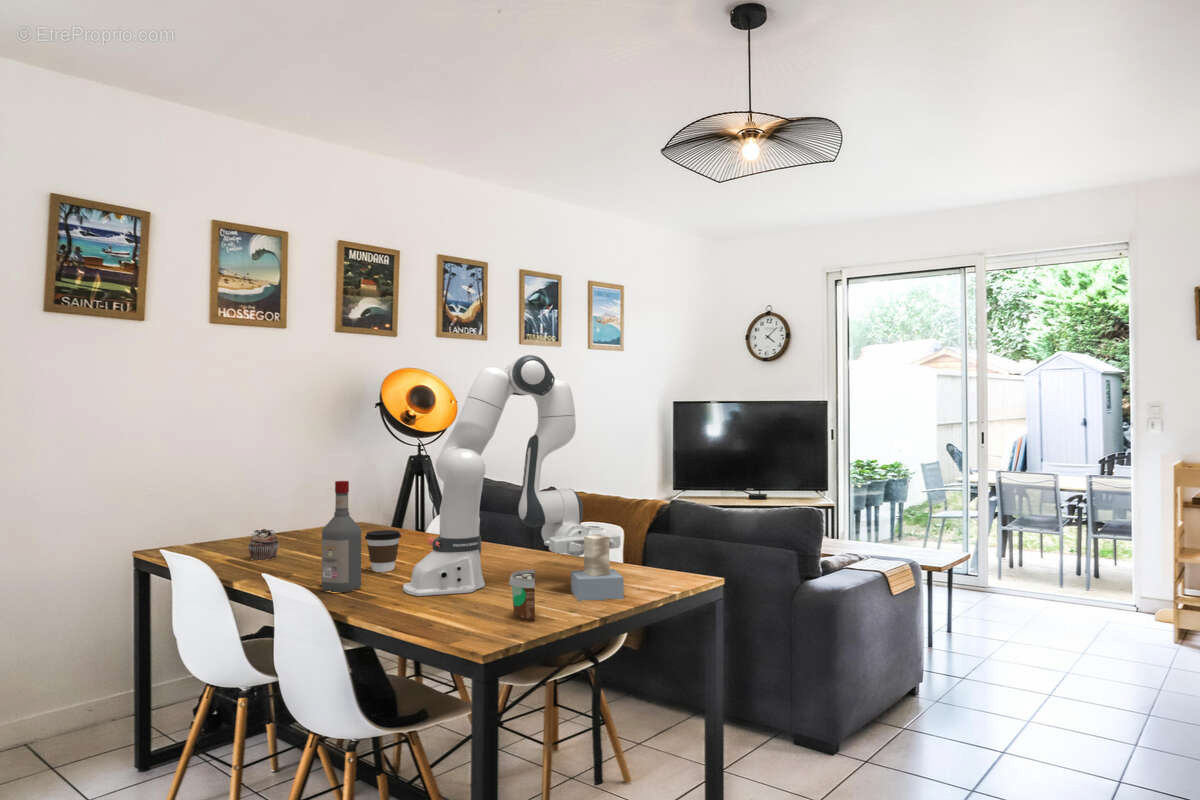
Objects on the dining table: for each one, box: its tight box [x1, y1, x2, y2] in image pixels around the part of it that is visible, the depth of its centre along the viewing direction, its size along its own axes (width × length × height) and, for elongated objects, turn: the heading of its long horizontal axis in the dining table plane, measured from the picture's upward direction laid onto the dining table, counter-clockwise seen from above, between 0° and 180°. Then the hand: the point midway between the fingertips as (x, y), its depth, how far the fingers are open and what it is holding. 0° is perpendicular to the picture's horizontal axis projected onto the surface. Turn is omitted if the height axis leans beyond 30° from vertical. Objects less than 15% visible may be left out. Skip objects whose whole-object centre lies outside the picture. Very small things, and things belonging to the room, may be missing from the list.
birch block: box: [583, 535, 611, 577], centre depth 208 cm, size 5×5×10 cm
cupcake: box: [247, 528, 279, 560], centre depth 264 cm, size 10×10×10 cm
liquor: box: [321, 480, 362, 593], centre depth 216 cm, size 9×9×30 cm
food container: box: [508, 569, 536, 622], centre depth 187 cm, size 12×6×10 cm, turn 5°
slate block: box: [570, 568, 625, 602], centre depth 209 cm, size 12×12×6 cm
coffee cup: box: [364, 529, 402, 572], centre depth 242 cm, size 11×11×12 cm
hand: (597, 546), depth 208 cm, fingers open, 8 cm apart
